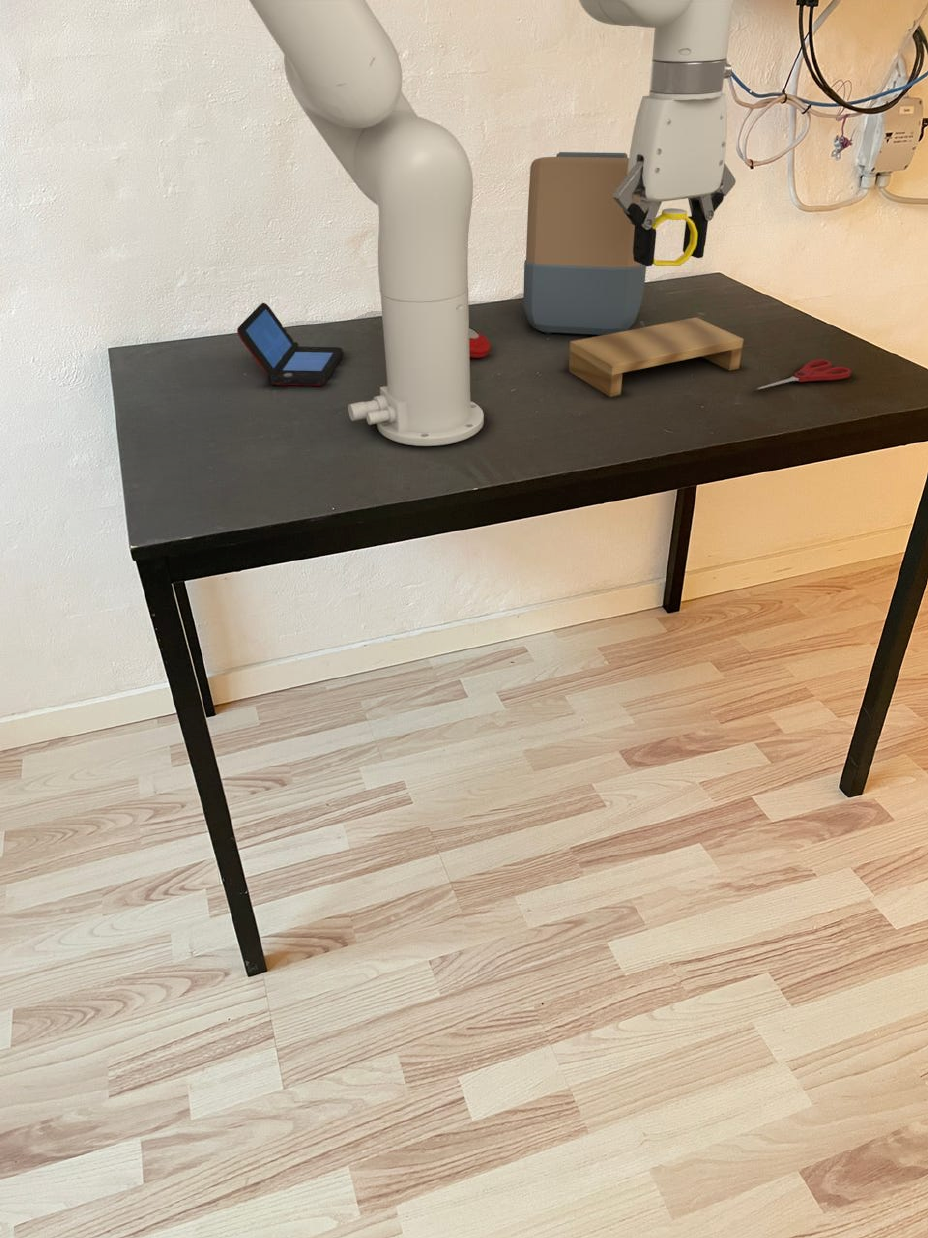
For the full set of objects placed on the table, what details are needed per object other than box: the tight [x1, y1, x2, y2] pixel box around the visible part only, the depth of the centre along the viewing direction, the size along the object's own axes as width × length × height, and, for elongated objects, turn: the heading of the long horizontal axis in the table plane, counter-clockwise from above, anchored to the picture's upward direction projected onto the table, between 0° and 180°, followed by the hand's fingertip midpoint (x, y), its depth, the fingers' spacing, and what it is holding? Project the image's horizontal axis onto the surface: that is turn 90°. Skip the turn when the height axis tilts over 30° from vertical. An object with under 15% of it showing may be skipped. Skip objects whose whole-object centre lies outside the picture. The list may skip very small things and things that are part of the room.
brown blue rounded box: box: [522, 151, 649, 336], centre depth 127 cm, size 17×17×23 cm
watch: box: [652, 208, 698, 267], centre depth 102 cm, size 6×3×6 cm, turn 99°
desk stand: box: [568, 317, 744, 398], centre depth 116 cm, size 20×10×4 cm, turn 115°
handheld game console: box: [236, 302, 344, 387], centre depth 118 cm, size 12×11×7 cm
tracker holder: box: [469, 326, 491, 359], centre depth 125 cm, size 12×4×10 cm
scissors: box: [756, 358, 852, 390], centre depth 113 cm, size 5×14×1 cm, turn 119°
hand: (668, 257), depth 104 cm, fingers closed on watch, 6 cm apart
